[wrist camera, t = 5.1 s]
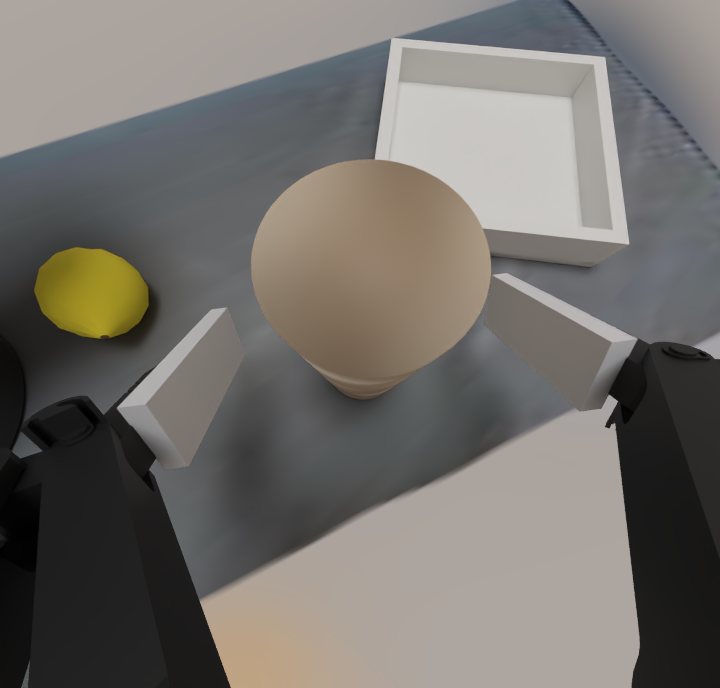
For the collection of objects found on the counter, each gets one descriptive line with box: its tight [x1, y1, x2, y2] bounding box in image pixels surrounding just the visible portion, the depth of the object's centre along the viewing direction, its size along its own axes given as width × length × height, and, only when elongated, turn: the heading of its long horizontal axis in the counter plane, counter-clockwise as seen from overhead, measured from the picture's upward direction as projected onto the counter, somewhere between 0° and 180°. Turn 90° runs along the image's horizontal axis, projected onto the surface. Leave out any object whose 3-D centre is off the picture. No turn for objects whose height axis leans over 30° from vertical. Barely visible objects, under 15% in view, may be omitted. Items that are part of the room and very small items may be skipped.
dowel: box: [251, 159, 491, 400], centre depth 12 cm, size 5×5×14 cm
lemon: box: [34, 247, 149, 339], centre depth 18 cm, size 7×5×5 cm
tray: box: [375, 38, 629, 267], centre depth 22 cm, size 18×18×3 cm
